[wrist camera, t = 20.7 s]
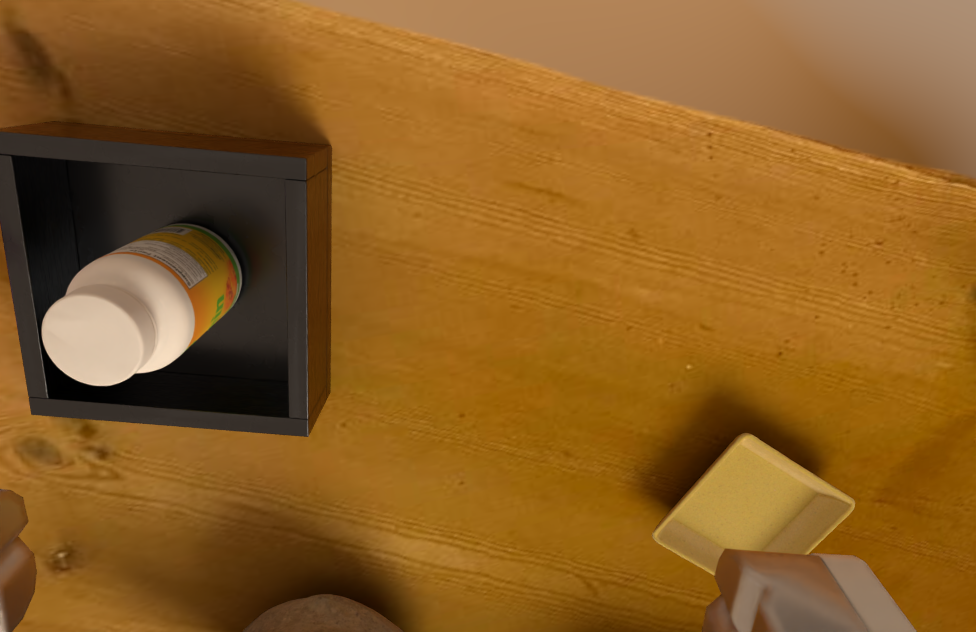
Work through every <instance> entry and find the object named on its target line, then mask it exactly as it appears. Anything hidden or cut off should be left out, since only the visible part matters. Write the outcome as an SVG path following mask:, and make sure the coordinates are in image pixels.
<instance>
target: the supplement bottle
mask: <svg viewBox="0 0 976 632" xmlns="http://www.w3.org/2000/svg"><path fill="white" fill-rule="evenodd" d="M241 285H242V274H241V268H240V264H239V262H238V259H237V257H236V255H235V253H234V252H233V250H232V249H231V248H230V246H229V245H228V244H227V243H226V242H225V241H224V240H223V239H222V238H221V237H220V236H218V235H217V234H215V233H214V232H212V231H210V230H208V229H206V228H204V227H201V226H197V225H193V224H172V225H168V226H165V227H162V228H160V229H157V230H155V231H153V232H151V233H149V234H147V235H145V236H143V237H141V238H139V239H137V240H135V241H133V242H131V243H129V244H127V245H125V246H123V247H121V248H119V249H117V250H115V251H113V252H111V253H109V254H107V255H105V256H103V257H100V258H98V259H96V260H95V261H93V262H91V263H90V264H88V265H87V266H85V267H84V268H83V269H82V270H81V271H79V272H78V273H77V274H76V276H75V277H74V278H73V280H72V281H71V283H70V285H69V287H68V289H67V292H66V295H65V296H64V297H62V298H61V299H59V300H58V301H56V302H55V303H54V304H53V305H52V306H51V307H50V308H49V309H48V311H47V312H46V314H45V317H44V319H43V322H42V340H43V344H44V347H45V349H46V351H47V354H48V355H49V357H50V358H51V360H52V361H53V362H54V364H55V365H56V366H57V367H58V368H59V369H60V370H62V371H63V372H64V373H65V374H67V375H68V376H70V377H71V378H73V379H75V380H77V381H79V382H82V383H85V384H89V385H95V386H109V385H114V384H117V383H120V382H123V381H125V380H126V379H128V378H130V377H131V376H132V375H133V374H135V373H146V372H151V371H155V370H158V369H161V368H163V367H165V366H167V365H169V364H170V363H172V362H173V361H174V360H175V359H177V358H178V357H179V356H181V355H182V354H183V353H184V352H185V351H186V350H187V349H188V348H189V347H190V346H191V345H192V344H193V343H194V342H195V341H196V340H198V339H199V338H200V337H201V336H202V335H203V334H204V333H205V332H206V331H207V330H208V329H209V328H211V327H212V326H213V325H214V324H215V323H216V322H217V321H218V320H219V319H220V318H221V317H223V316H224V315H225V314H226V313H227V312H228V311H229V310H230V309H231V307H232V306H233V305H234V304H235V302H236V300H237V299H238V296H239V293H240V290H241Z"/></svg>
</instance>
